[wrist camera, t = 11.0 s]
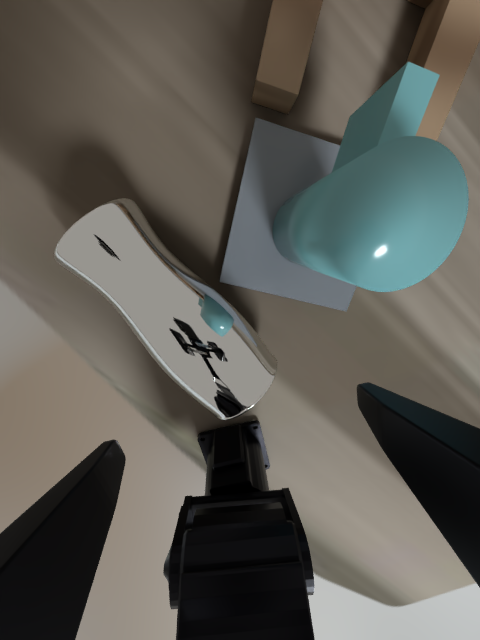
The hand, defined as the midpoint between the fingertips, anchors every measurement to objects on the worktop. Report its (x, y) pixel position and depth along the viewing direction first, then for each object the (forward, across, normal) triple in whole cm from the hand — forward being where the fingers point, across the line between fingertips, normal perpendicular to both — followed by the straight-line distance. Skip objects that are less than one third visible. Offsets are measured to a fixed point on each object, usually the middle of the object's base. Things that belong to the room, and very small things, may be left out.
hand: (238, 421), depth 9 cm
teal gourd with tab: (+12, -8, -7) cm, 16 cm away
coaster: (+13, -7, -6) cm, 16 cm away
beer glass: (+10, +7, -8) cm, 15 cm away
